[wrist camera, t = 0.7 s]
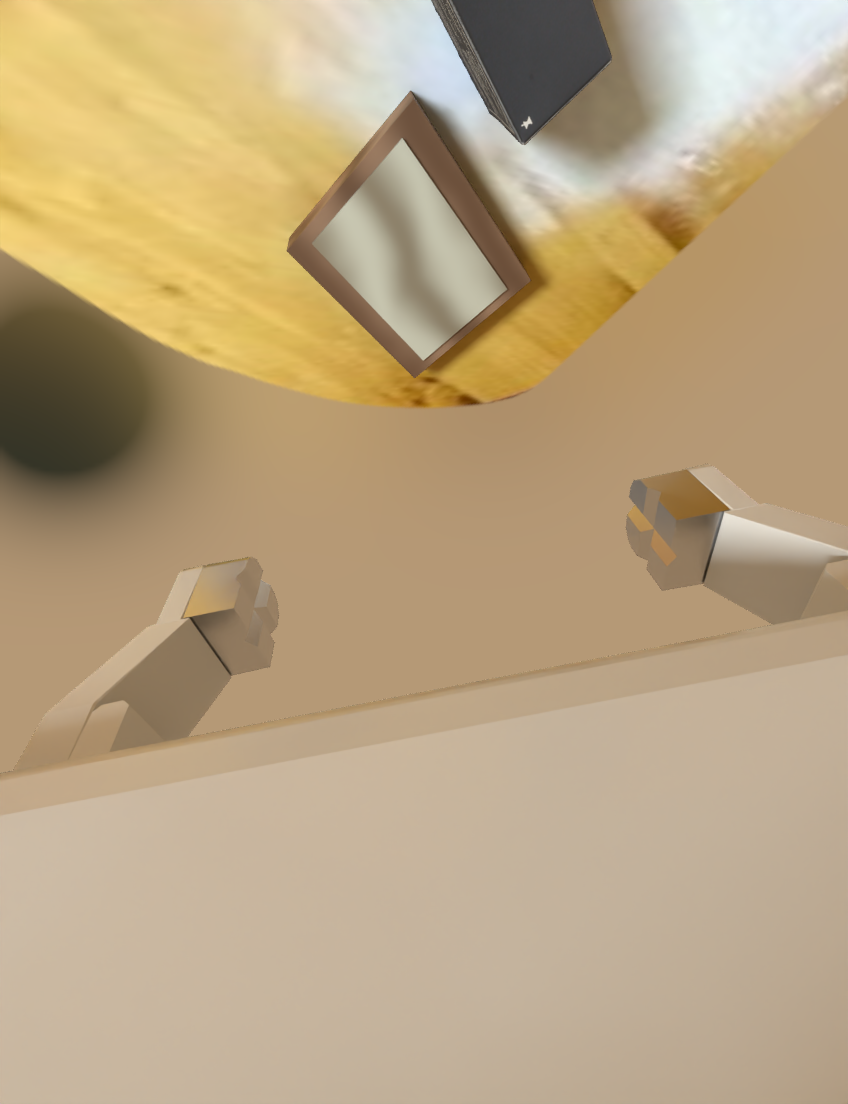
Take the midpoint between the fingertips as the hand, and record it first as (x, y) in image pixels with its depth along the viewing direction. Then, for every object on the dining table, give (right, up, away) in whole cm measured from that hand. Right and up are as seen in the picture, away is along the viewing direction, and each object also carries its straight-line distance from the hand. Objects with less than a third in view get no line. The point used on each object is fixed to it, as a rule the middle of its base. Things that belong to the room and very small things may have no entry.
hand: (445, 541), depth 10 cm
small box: (+4, +37, +22) cm, 43 cm away
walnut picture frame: (-2, +27, +33) cm, 42 cm away
